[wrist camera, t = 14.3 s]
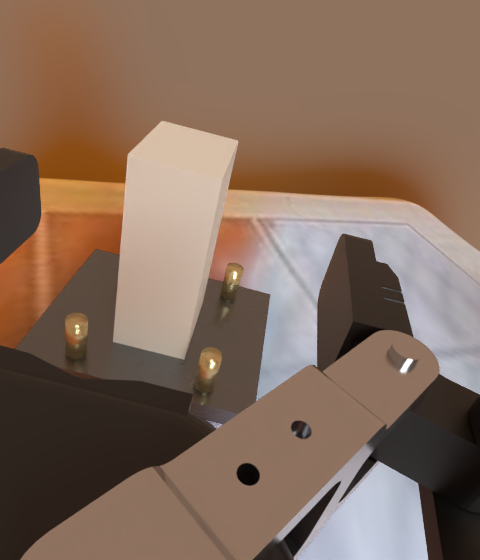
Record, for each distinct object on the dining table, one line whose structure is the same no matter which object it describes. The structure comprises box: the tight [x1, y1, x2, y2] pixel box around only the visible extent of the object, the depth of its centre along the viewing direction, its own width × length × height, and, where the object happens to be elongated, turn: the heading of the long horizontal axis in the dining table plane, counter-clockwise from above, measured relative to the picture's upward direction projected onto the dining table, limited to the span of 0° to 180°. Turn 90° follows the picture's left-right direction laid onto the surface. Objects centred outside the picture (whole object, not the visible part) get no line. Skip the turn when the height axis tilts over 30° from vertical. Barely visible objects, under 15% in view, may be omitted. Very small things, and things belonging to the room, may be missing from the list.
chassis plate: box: [15, 249, 270, 424], centre depth 30 cm, size 14×12×4 cm
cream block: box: [113, 121, 238, 360], centre depth 27 cm, size 4×6×12 cm
